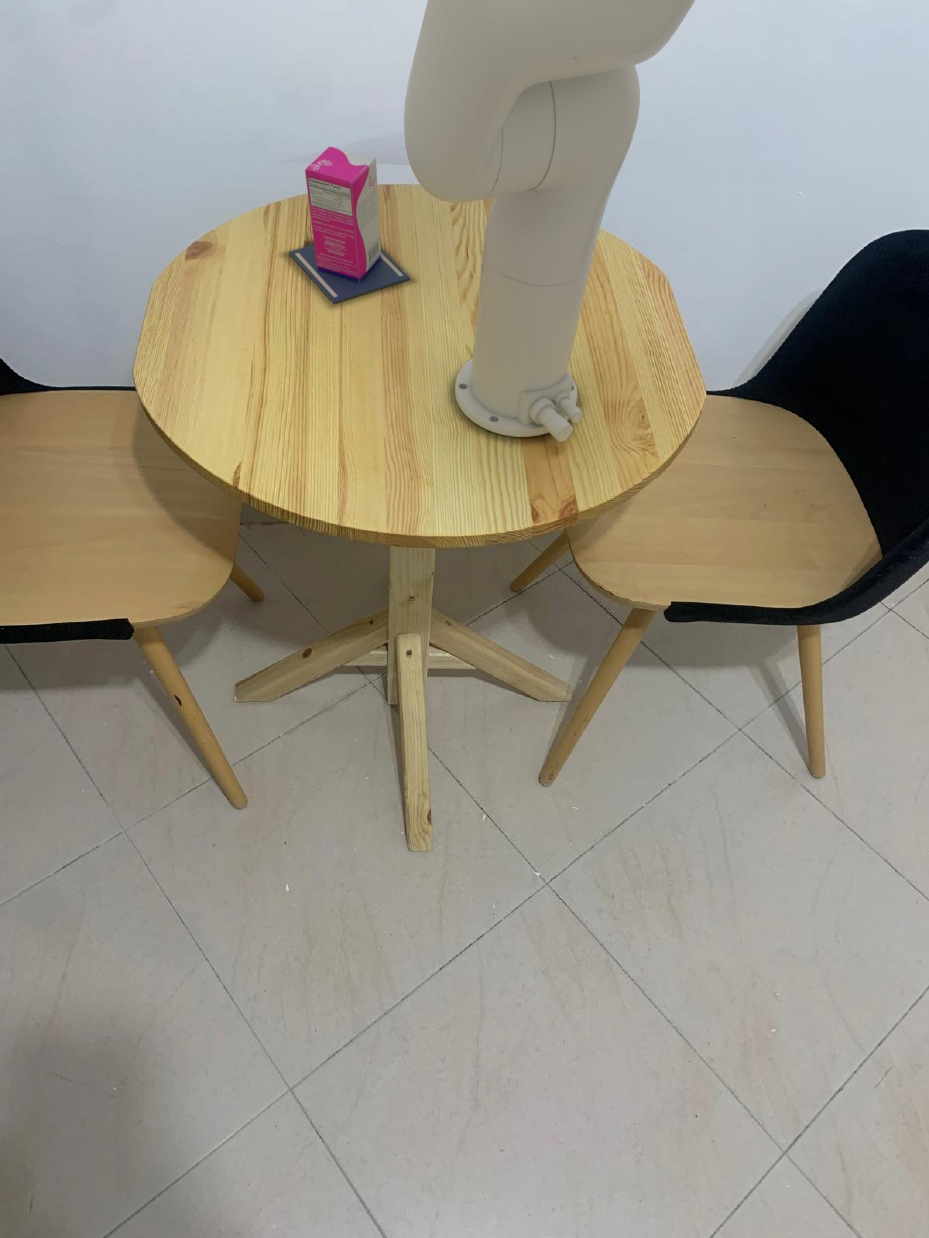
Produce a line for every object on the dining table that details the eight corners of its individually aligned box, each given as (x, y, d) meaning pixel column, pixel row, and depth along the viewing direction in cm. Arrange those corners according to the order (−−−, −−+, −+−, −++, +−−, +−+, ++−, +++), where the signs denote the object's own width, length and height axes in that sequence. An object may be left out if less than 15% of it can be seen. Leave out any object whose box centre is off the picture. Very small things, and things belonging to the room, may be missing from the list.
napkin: (409, 279, 90) (409, 277, 90) (333, 304, 86) (333, 301, 86) (363, 232, 95) (362, 230, 94) (288, 254, 91) (288, 251, 91)
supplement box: (337, 245, 92) (330, 143, 83) (382, 259, 91) (380, 157, 82) (314, 270, 89) (303, 167, 80) (360, 284, 88) (355, 182, 79)
